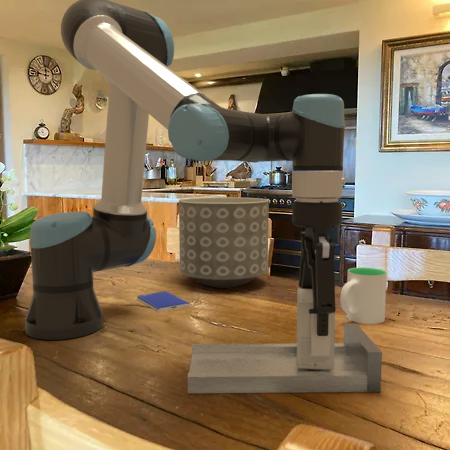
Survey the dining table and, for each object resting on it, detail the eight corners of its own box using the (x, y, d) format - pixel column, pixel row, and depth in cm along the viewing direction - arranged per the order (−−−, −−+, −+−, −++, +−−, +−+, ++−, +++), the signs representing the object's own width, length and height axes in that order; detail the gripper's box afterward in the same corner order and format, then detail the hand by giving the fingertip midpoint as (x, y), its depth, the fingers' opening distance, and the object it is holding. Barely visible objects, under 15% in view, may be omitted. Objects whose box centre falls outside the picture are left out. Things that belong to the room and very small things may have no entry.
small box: (334, 371, 71) (336, 303, 70) (296, 369, 72) (297, 301, 70) (330, 350, 79) (332, 288, 77) (296, 348, 80) (297, 287, 78)
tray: (187, 393, 69) (187, 353, 68) (192, 358, 82) (192, 324, 81) (380, 391, 69) (382, 352, 69) (355, 357, 82) (356, 323, 81)
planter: (280, 291, 127) (281, 201, 124) (188, 297, 121) (187, 203, 118) (252, 272, 151) (253, 196, 148) (174, 276, 145) (173, 198, 142)
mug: (361, 330, 96) (362, 280, 94) (328, 321, 102) (329, 273, 100) (391, 318, 104) (393, 271, 102) (359, 310, 110) (360, 266, 108)
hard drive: (137, 295, 119) (158, 307, 109) (166, 290, 124) (189, 301, 113) (137, 301, 119) (158, 314, 109) (166, 296, 124) (189, 308, 113)
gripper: (362, 204, 62) (357, 371, 64) (326, 196, 83) (323, 322, 86) (304, 205, 62) (302, 372, 64) (283, 196, 83) (281, 322, 85)
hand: (314, 343), depth 75 cm, fingers closed on small box, 8 cm apart
